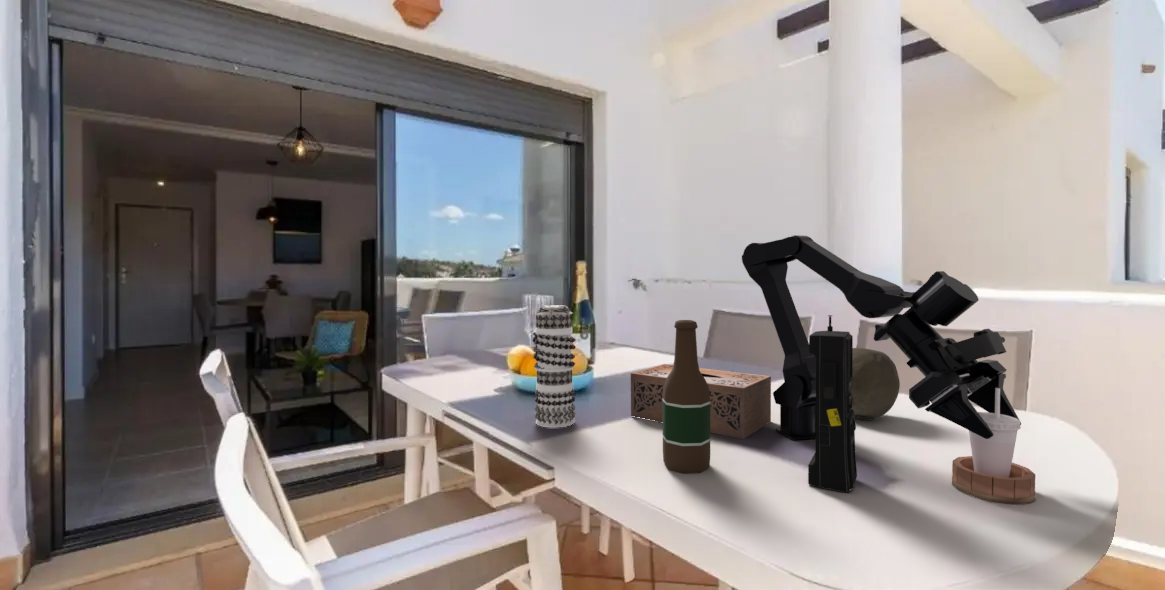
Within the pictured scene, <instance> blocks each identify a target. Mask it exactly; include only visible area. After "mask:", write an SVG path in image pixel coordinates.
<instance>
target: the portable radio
mask: <svg viewBox="0 0 1165 590" xmlns="http://www.w3.org/2000/svg"><path fill="white" fill-rule="evenodd" d="M827 317H828V326H827V327H826V328H827V330H818V331H814V332H813V333H811V334H810V335H809V336H808V337H809V339H808V343H809V353H811V354H814V355H815V357H816V438H815V443H814V445H815V447H814V448H815V449H814V451H815V452H814V454H813V456H812V458H811V460H810V461H809V463H808V465H807V466H808V467H807V468H808V470H807V472H808V473H807V483H808V485H810V486H813V487H816V488H820V489H825V490H829V491H830V490H831V491H836V492H841V493H846V494H847V493H848V494H849V493H850V491H851V490H853V489H854V487H855V485H856V482H857V477H858V470H857V469H858V468H857V460H856V459H857V457H856V437H855V436H856V435H855V431H856V429H857V424H856V419H855V417H854V410H853V409H851V408H852V393H851V392H850V390H851V388H852V374H853V348H854V347H853V345H854V343H853V342H854V339H853V337H854V336H853V335H852V334H851V333H850V332H849V331H842V330H841V331H839V330H833V329H834V327H833V326H832V317H833V314H832V315H830V314H829V315H827Z"/></svg>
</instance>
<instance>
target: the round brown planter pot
mask: <svg viewBox="0 0 1165 590" xmlns="http://www.w3.org/2000/svg"><path fill="white" fill-rule="evenodd" d="M951 463H952V465H951V466H952V467H951V468H952V469H951V470H952V471H951V472H952V473H951V486H953V487H954V488H955V489H956V490H958V491H959V492H961V493H963V494H966V495H967V496H970V495H971V497H973V496H974V498H976V497H977V498H976V499H980V500H984V501H989V502H993V503H999V504H1004V505H1005V504H1007V505H1026V504H1032V503H1033V502H1035V501H1036V473H1034V472H1033V471H1032V470H1031V469H1030V468H1028V467H1026V466H1023V465H1020V464H1017V463H1015V462H1012V464H1011V470H1010V476H1009V478H1008V477H998V476H991V475H987V474H983V473H979V472H975V471H974V465H973V458H972V455H971V456H970V455H968V456H967V455H966V456H959V457H958V456H957V457H956V458H955V459H953V460H952V462H951Z"/></svg>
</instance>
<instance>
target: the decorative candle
mask: <svg viewBox="0 0 1165 590" xmlns="http://www.w3.org/2000/svg"><path fill="white" fill-rule="evenodd" d="M534 314H535V331H534V332H532V333H531V334H532V335H533V336H534V337H532V339H531V341H532V343H534V345H535V344H536V345H535V346H534V347H533V349H532V351H533V352H534V354H533V359H534V360H535V361H536V362H535V363H534V366H533V367H534V370H535V371H536V383H535V384H536V385H535V386H536V390H535V391H534V395H535V396H536V397H535V399H534V402H536V404H535V407H534V411H535V415H534V418H535V419H536V420H535V425H536V424H537V425H540V426H543V427H565V428H567V427H566V426H569V425H572V424H573V423H575V422H576V420H575V418H576V412H575V410H576V405H575V404H574V402H575V400H576V398H575V396H573V395H575V393H576V390H575V389H574V381H573V370H575V366H576V362H574V361H573V360H574V359H575V358H576V355H575V354H574V353H572V350H575V349H576V345H574V343H575V342H576V338H575V337H573V336H572V335H573V326H572V325H573V324H572V322H573V321H572V314H573V312H572V311H570V309H569V307H568V306H567V305H563V304H562V305H561V304H559V305H558V304H555V305H554V304H552V305H551V304H550V305H542V306H540V307H539V308H538V311H537V312H535V313H534ZM575 424H576V423H575ZM537 425H536V426H537ZM573 425H574V424H573ZM573 425H572V426H573ZM543 427H542V428H543ZM569 427H570V426H569Z"/></svg>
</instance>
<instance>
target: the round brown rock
mask: <svg viewBox="0 0 1165 590" xmlns="http://www.w3.org/2000/svg"><path fill="white" fill-rule="evenodd" d="M900 387H901V385H900V377H899V372H898V368H897V367H896V364H895V362H894V361H893V359H891V357H890V356H889V355H887V354H886V353H885V352H883V351H880V350H875V349H871V348H863V347H853V374H852V388H851V390H850V392H851V393H852V408H851V409H853V410H854V418H856V419H860V420H863V421H864V420H867V421H870V420H876V419H878V418H881V417H883V416H884V415H885V414H887V413H888V412H889V411H890V410H891V409H892V408H893V406H894V405H895V403H896V401H897V399H898V396H899V392H900Z"/></svg>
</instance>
